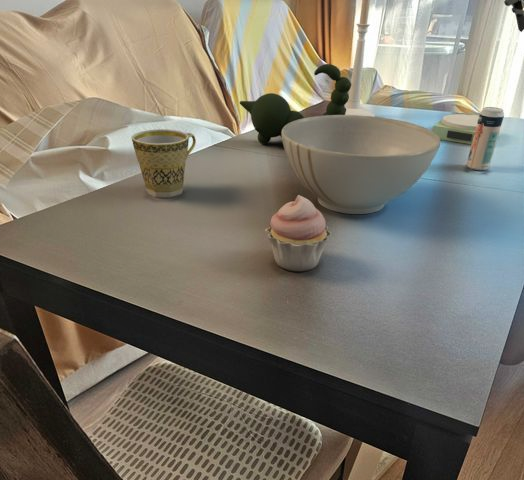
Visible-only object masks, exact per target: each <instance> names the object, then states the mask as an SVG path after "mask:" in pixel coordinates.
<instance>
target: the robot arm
mask: <svg viewBox="0 0 524 480" xmlns="http://www.w3.org/2000/svg"><path fill="white" fill-rule="evenodd" d="M503 3H504V5H505V6H507V7H510V6H511V7H512V8H511V12H512V13H513V14H514V15H515V19H516V23H517V24H516V25H517V28H518V31H519V32H520V33H522V32H523V31H524V0H504V1H503Z"/></svg>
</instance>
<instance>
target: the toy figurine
mask: <svg viewBox="0 0 524 480" xmlns="http://www.w3.org/2000/svg"><path fill="white" fill-rule="evenodd" d="M313 74H314V76H318V75H319V74H325V75H326V76H328V77H329V78H330V80H332V81H334V82H335V83H334V89H333V90H332V92H331V94H330V101H329V102H328V103H327V105H326V108H325V112H324V113H323V114H322V115H321V116H326V115H345V113H346V108H345V106H346V105H347V102H348V99H349V91H350V88H351V85H352V84H351V80H350V79H349V78H348V77H346V76H341V75H342V73H341V70H340V69H339V67H338V66H336V65H334V64H332V63H324V64H322V65H320V66H318V67H317V68H316V69H315V71H314V73H313ZM239 105H240V106H242V108H243V109H245V110H246V111H247V112H248V113H249V114H250V119H251V124H252V126H253V128H254V130H255V131H256V132H257V133H258V134H257V141H258V142H259V143H260V144H262V145H267V144H268V143H270V142H271V140H272V138H276V137H280V138H282V129H283V127H284V126H285V125H287V124H288V123H290V122H293V121H296V120H299V119H303V118H308V117H309V116H308V117H305V116H304V115H303V114H302V113H301V112H299V111H297V110H292V109H291V106H290V104H289V102H288V101H287V99H286V98H284V97H283V96H281V95H280V94H277V93H275V92H269V93H265V94H263V95H261V96H259V97H258V98H257V99H255V100H240V101H239ZM282 143H283V141H282Z"/></svg>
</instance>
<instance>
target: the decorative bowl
mask: <svg viewBox="0 0 524 480" xmlns="http://www.w3.org/2000/svg"><path fill="white" fill-rule="evenodd" d="M281 140H282V141H283V142H282V145H283V148H284V149H283V150H284V152H285V155H286V158H287V160H288V162H289V165H290V167H291V169H292V171H293V173H294V175H295V176H296V178H297V179H298V181H299V182H300V183H301V184H302V185H303V187H304V188H305V189H307V190H308V191H309V192H310V193H311V194H312V195H314V196H315V197H317V202H318V203H319V204H320V205H321V206H322V207H323V208H325V209H327V210H330V211H332V212H336V213H342V214H347V215H365V214H366V215H368V214H372V213H376V212H379V211H381V210H383V209H384V207H385V205H386V203H389V202H391V201H393V200H396V199H397V198H399V197H400V196H402V195H403V194H405V193H406V192H407V191H409V190H410V189H411V188H412V187H413V186H414V185H415V184H416V183H417V182H418V181H419V180H420V179H421V178H422V177H423V175H424V174H425V173H426V171H427V170H428V168H429V167H430V166H431V164H432V162H433V161H434V159H435V157H436V155H437V153H438V151H439V149H440V146H441V139H440V138H439V136H438V135H437V134H436V133H434V132H433V131H432V129H429V128H427V127H424V126H422V125H419V124H415V123H413V122H408V121H404V120H400V119H396V118H395V119H394V118H390V117H389V118H388V117H382V116H381V117H380V116H374V117H373V116H361V115H326V116H322V115H316V116H315V115H314V116H308V118H306V117H304V118H303V119H299V120H296V121H293V122H290V123H288V124H287V125H285V126H284V127H283V129H282V137H281Z"/></svg>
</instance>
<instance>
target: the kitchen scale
mask: <svg viewBox="0 0 524 480" xmlns="http://www.w3.org/2000/svg"><path fill="white" fill-rule="evenodd" d="M478 118H479V115H475V114H474V115H473V114H465V113H464V114H463V113H461V114H460V113H456V114H448V115H444V116H443V117H442V119H440V120H439V121H438V122H437V123H434V125H433V126H432V129H431V131H433V132H434V133H436V134H437V135H438V136H439V138H440V140H443V141H447V142H453V143H460V144H466V145H472V141H473V137H474V134H475V130H476V126H477V122H478Z"/></svg>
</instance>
